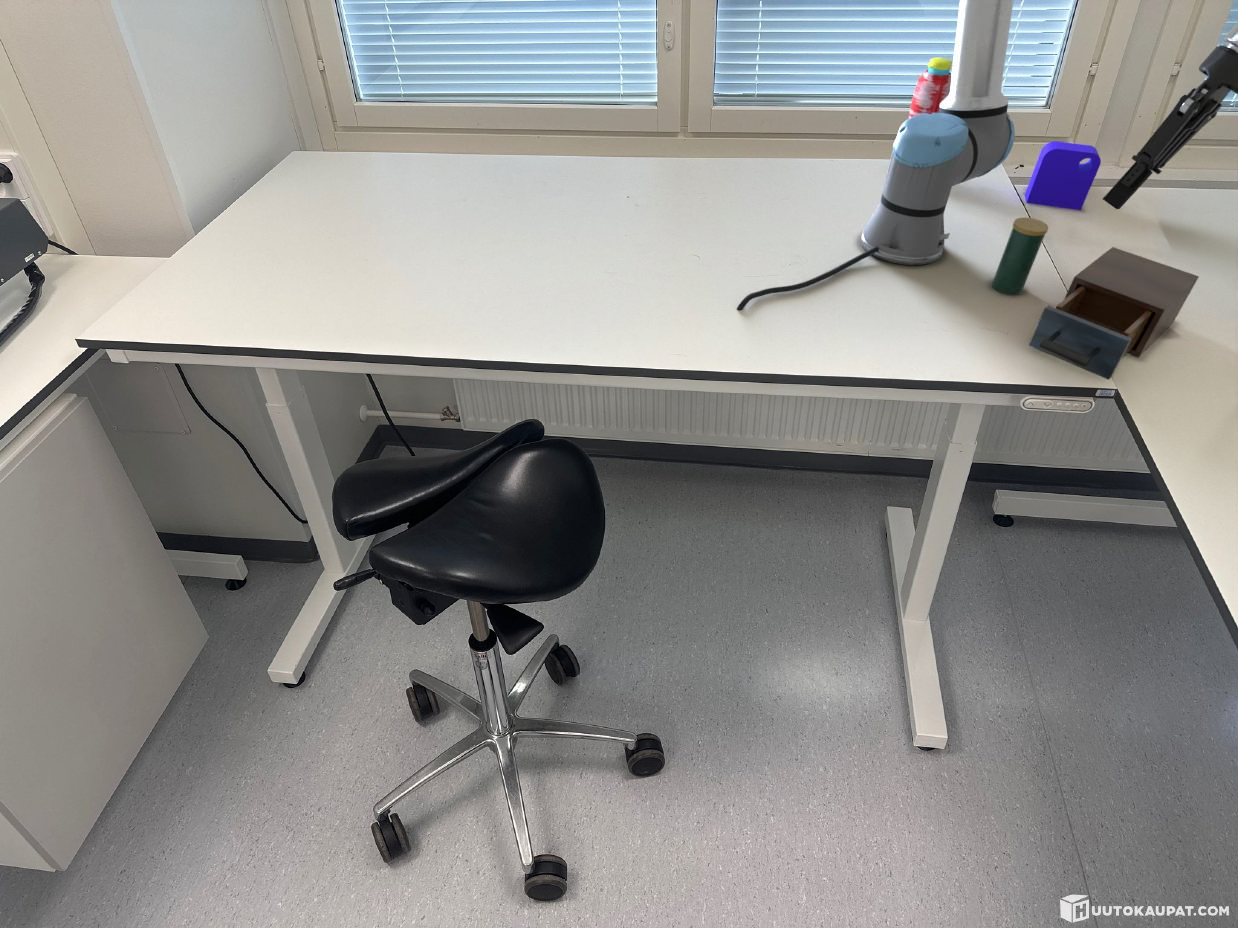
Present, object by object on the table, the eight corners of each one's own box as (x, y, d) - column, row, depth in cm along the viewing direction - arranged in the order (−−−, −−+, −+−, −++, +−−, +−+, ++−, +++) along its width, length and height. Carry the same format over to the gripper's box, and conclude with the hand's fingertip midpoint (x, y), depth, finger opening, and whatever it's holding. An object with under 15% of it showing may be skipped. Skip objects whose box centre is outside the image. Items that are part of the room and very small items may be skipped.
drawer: (1093, 394, 118) (1114, 355, 113) (1012, 359, 125) (1028, 320, 120) (1144, 344, 129) (1164, 306, 124) (1066, 313, 135) (1083, 277, 131)
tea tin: (1001, 296, 141) (1026, 232, 133) (984, 281, 145) (1007, 218, 137) (1029, 294, 142) (1055, 230, 134) (1011, 279, 146) (1036, 216, 138)
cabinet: (1138, 358, 127) (1164, 310, 122) (1053, 323, 135) (1074, 276, 129) (1172, 323, 136) (1199, 276, 130) (1091, 292, 143) (1112, 246, 137)
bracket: (1080, 210, 169) (1104, 154, 162) (1026, 203, 172) (1047, 147, 164) (1070, 179, 182) (1092, 125, 175) (1020, 172, 185) (1039, 119, 177)
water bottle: (885, 165, 186) (914, 48, 169) (920, 167, 185) (952, 49, 169) (894, 186, 177) (926, 64, 160) (931, 188, 176) (966, 66, 160)
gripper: (1260, 63, 105) (1118, 217, 120) (1276, 77, 114) (1141, 219, 129) (1211, 34, 108) (1078, 188, 123) (1230, 50, 117) (1103, 192, 132)
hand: (1110, 204), depth 126 cm, fingers closed
